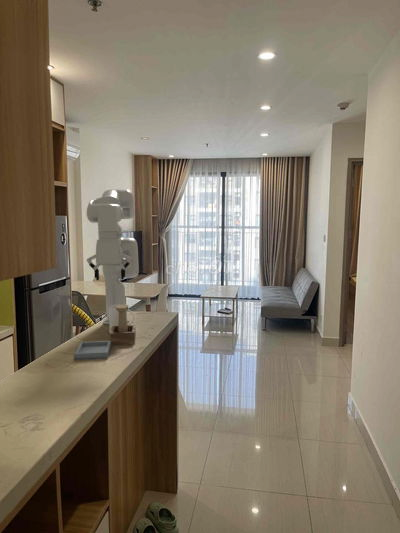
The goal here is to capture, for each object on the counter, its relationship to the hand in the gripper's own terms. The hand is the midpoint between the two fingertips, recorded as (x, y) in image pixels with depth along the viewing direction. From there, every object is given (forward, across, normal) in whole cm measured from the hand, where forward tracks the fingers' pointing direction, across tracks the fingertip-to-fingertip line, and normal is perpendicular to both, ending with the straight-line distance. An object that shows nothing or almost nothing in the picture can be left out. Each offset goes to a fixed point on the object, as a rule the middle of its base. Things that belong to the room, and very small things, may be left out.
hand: (110, 279), depth 154 cm
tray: (+28, +7, +5) cm, 29 cm away
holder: (+28, -4, -9) cm, 30 cm away
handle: (+28, -4, -9) cm, 30 cm away
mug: (+29, -2, -22) cm, 36 cm away
